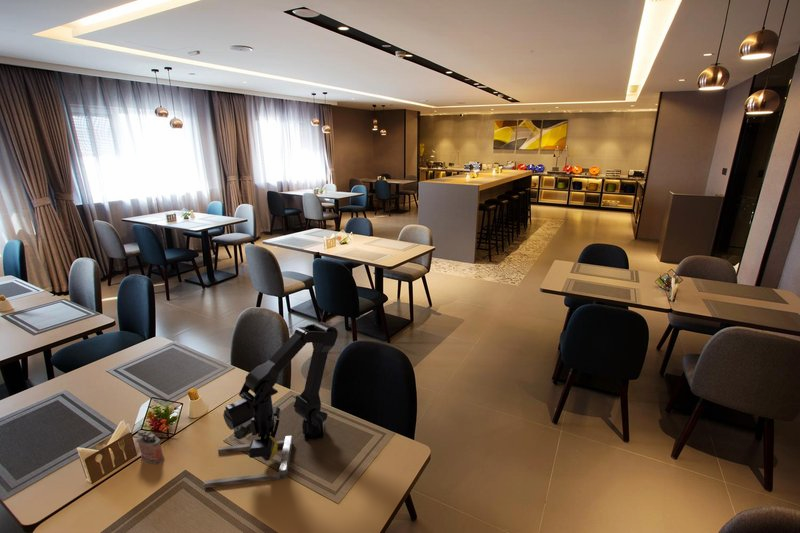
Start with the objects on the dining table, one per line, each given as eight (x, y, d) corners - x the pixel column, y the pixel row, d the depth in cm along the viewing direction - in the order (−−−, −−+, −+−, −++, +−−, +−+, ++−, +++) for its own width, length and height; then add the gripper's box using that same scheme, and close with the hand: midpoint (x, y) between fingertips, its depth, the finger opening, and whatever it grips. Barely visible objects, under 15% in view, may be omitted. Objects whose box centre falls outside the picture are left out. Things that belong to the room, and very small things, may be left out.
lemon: (273, 466, 118) (270, 445, 116) (256, 463, 119) (253, 442, 117) (282, 452, 123) (279, 432, 121) (266, 450, 124) (263, 429, 122)
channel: (292, 443, 129) (291, 435, 128) (286, 478, 115) (285, 470, 114) (219, 450, 126) (218, 443, 125) (204, 487, 112) (203, 479, 111)
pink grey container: (167, 457, 123) (161, 431, 120) (157, 465, 120) (151, 439, 117) (148, 451, 126) (142, 426, 123) (138, 459, 123) (131, 433, 120)
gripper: (242, 394, 123) (248, 434, 128) (225, 435, 106) (233, 480, 111) (278, 390, 125) (283, 430, 130) (267, 431, 107) (274, 476, 112)
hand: (268, 452), depth 120 cm, fingers closed on lemon, 5 cm apart
